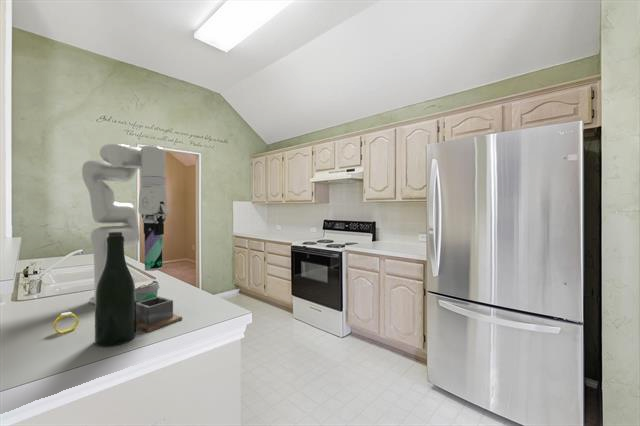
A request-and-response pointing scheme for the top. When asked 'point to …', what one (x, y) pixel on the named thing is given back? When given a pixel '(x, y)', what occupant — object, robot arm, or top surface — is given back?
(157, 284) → the food container
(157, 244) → the spray can
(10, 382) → the top surface
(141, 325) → the can holder
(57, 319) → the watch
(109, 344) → the beer bottle
